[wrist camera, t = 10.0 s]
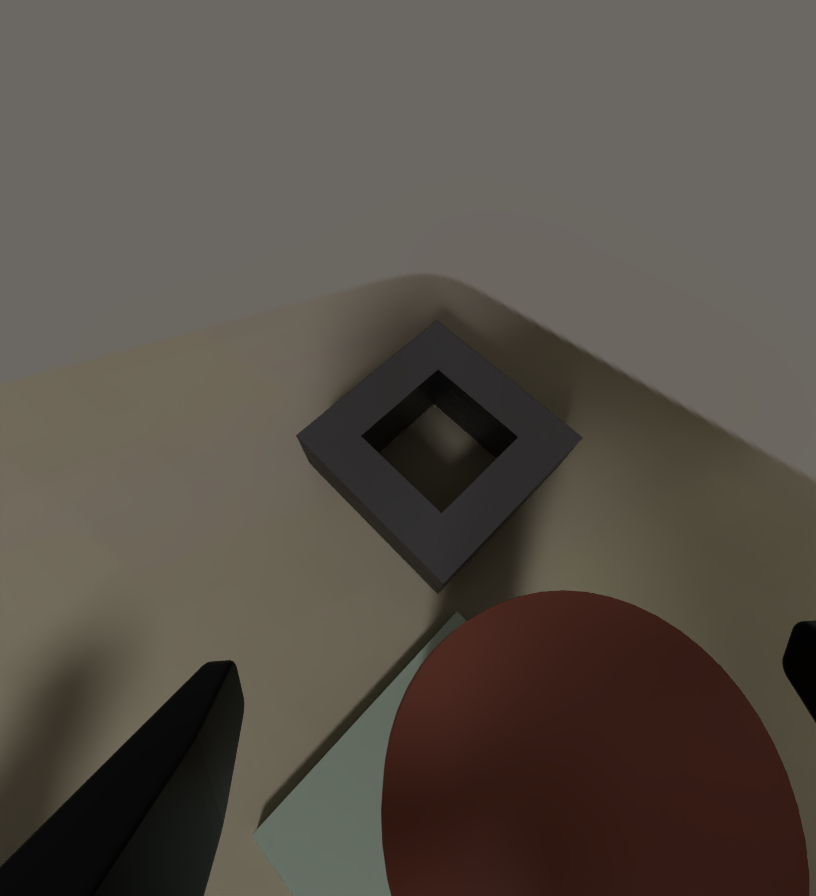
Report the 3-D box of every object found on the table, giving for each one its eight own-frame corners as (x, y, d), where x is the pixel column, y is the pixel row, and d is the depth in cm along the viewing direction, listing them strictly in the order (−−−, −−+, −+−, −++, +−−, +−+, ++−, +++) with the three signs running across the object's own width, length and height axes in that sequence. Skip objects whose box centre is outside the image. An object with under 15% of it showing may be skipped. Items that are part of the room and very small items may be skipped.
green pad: (668, 830, 17) (677, 836, 16) (473, 1135, 14) (476, 1155, 13) (455, 612, 19) (457, 610, 19) (256, 829, 16) (251, 835, 16)
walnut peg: (550, 708, 17) (881, 805, 6) (461, 825, 16) (653, 1293, 4) (453, 610, 19) (554, 518, 7) (362, 709, 17) (293, 809, 5)
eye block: (559, 464, 22) (582, 437, 19) (437, 594, 20) (443, 584, 17) (432, 358, 24) (436, 319, 21) (309, 463, 22) (296, 435, 19)
